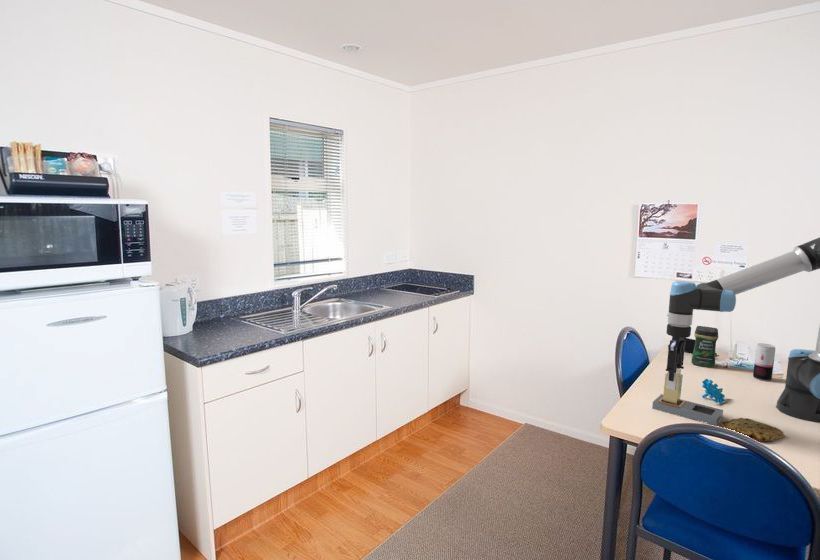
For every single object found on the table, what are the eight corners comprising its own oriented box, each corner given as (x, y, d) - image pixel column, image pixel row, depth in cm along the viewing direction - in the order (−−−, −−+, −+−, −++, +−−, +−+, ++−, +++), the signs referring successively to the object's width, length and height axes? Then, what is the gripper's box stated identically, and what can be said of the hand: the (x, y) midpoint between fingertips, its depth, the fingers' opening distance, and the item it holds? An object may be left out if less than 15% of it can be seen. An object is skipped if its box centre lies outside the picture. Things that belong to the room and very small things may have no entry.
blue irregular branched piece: (716, 402, 172) (700, 378, 178) (702, 409, 176) (687, 385, 182) (732, 401, 177) (717, 377, 183) (719, 408, 181) (704, 384, 187)
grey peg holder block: (722, 416, 163) (723, 409, 163) (716, 425, 156) (717, 417, 156) (660, 400, 177) (661, 393, 177) (652, 408, 170) (652, 401, 170)
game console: (717, 355, 236) (719, 338, 235) (704, 360, 229) (705, 342, 228) (686, 348, 250) (688, 331, 248) (672, 352, 242) (673, 335, 241)
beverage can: (775, 380, 201) (779, 346, 199) (765, 382, 199) (769, 348, 197) (759, 375, 207) (763, 342, 205) (749, 377, 205) (753, 344, 203)
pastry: (794, 449, 142) (795, 440, 142) (727, 438, 148) (728, 429, 148) (774, 425, 158) (775, 417, 157) (714, 417, 164) (715, 409, 164)
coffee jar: (690, 365, 220) (694, 327, 218) (691, 361, 227) (695, 323, 224) (715, 369, 215) (719, 330, 212) (715, 364, 221) (719, 326, 219)
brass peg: (680, 400, 170) (682, 374, 168) (676, 404, 167) (679, 377, 165) (666, 397, 173) (669, 371, 172) (662, 400, 170) (665, 374, 168)
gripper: (674, 319, 175) (668, 378, 178) (660, 326, 162) (654, 390, 165) (697, 322, 169) (690, 383, 173) (684, 330, 157) (677, 396, 160)
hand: (672, 387), depth 169 cm, fingers closed on brass peg, 4 cm apart
